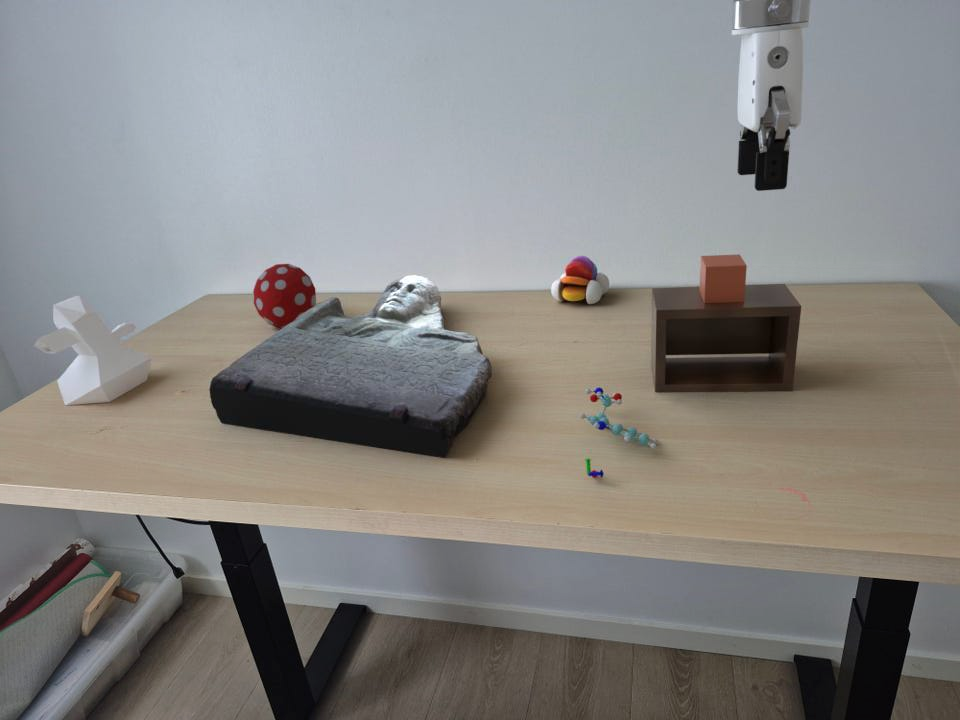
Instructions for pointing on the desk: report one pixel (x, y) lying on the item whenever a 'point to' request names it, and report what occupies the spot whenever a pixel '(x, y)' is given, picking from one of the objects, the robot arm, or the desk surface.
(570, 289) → the rainbow toy buggy
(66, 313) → the white animal head
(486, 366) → the bust sculpture
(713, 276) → the box
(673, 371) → the shelf
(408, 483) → the desk surface
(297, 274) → the red polka dot ball
